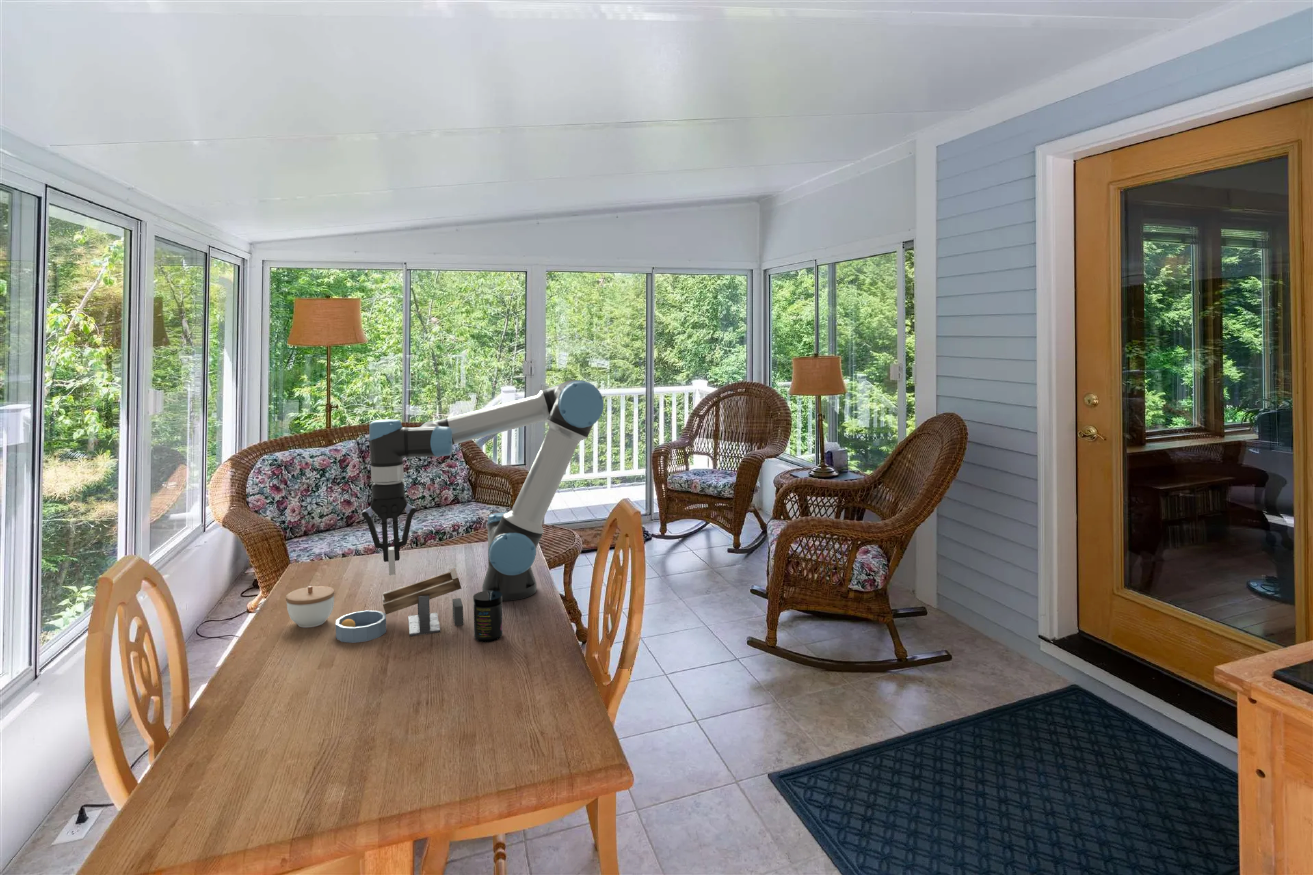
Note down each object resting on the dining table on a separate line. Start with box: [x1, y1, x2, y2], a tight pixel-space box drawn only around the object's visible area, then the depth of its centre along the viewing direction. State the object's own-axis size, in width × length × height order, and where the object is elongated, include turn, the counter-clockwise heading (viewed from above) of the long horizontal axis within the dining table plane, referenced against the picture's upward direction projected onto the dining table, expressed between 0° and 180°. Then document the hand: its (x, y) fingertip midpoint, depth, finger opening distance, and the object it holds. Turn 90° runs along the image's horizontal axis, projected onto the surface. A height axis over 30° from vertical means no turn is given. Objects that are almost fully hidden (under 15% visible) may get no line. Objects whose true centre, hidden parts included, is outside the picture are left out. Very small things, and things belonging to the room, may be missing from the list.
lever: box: [382, 568, 462, 615], centre depth 167 cm, size 18×14×3 cm
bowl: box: [334, 609, 387, 644], centre depth 160 cm, size 11×11×4 cm
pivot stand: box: [407, 595, 441, 637], centre depth 165 cm, size 7×12×9 cm, turn 22°
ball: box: [341, 619, 355, 627], centre depth 159 cm, size 3×3×3 cm
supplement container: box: [472, 590, 504, 643], centre depth 158 cm, size 7×7×10 cm
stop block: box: [452, 597, 464, 626], centre depth 168 cm, size 2×6×5 cm, turn 22°
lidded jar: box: [285, 585, 335, 629], centre depth 166 cm, size 11×11×9 cm
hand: (392, 573), depth 168 cm, fingers closed
